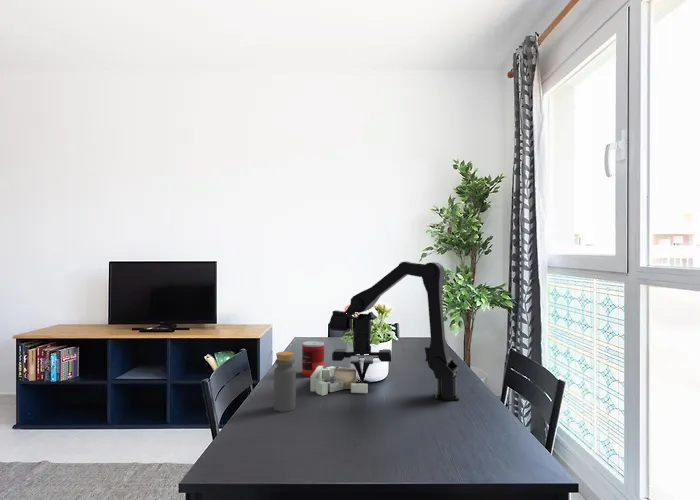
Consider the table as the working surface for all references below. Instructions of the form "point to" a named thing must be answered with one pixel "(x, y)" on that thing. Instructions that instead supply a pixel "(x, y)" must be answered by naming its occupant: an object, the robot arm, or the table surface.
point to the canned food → (312, 356)
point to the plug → (345, 376)
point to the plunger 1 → (334, 384)
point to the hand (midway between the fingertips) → (362, 382)
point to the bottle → (284, 382)
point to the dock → (325, 375)
